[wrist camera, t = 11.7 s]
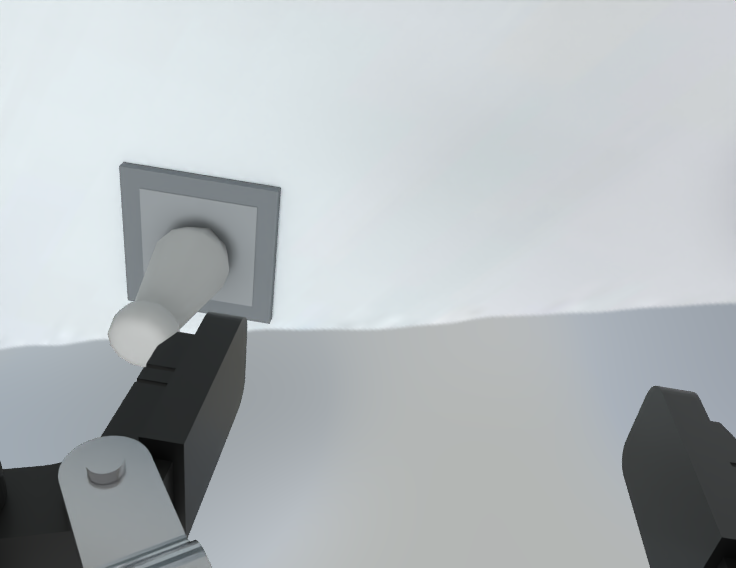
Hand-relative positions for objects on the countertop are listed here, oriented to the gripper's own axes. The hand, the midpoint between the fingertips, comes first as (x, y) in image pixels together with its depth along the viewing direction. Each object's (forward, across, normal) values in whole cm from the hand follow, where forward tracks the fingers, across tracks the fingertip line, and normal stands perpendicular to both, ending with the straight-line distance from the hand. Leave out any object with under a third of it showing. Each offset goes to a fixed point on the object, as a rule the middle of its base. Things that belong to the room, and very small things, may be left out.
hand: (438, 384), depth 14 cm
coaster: (+36, +16, +19) cm, 44 cm away
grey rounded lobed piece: (+35, +16, +19) cm, 43 cm away
